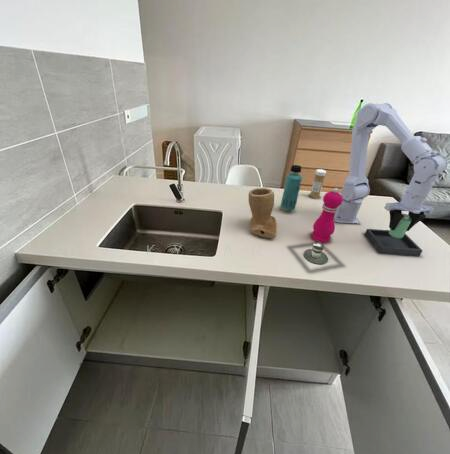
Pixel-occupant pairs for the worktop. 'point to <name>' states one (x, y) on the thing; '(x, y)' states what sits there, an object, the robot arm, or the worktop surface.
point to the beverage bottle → (291, 188)
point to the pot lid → (316, 254)
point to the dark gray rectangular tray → (392, 243)
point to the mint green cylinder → (401, 227)
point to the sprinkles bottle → (317, 183)
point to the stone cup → (262, 212)
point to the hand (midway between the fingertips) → (398, 229)
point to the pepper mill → (327, 216)
